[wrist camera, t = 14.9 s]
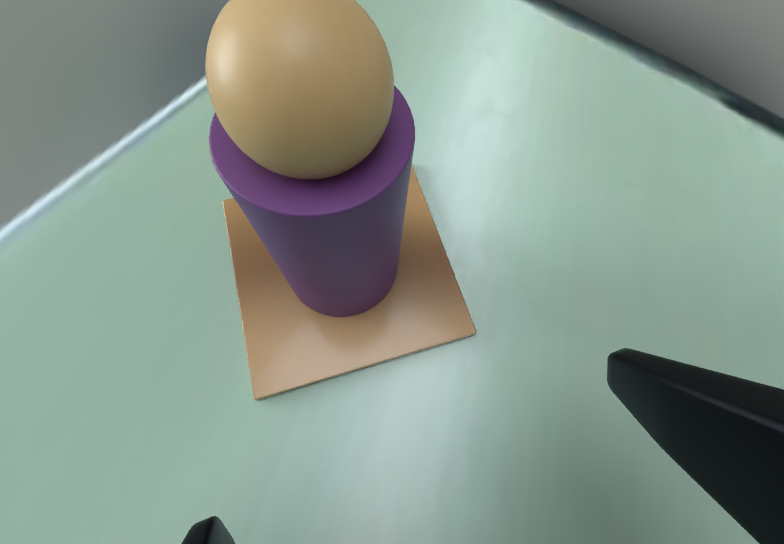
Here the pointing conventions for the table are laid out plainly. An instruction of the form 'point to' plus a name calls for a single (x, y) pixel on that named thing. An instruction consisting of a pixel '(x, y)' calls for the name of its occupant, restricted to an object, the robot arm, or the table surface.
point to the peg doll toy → (313, 144)
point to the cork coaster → (343, 334)
